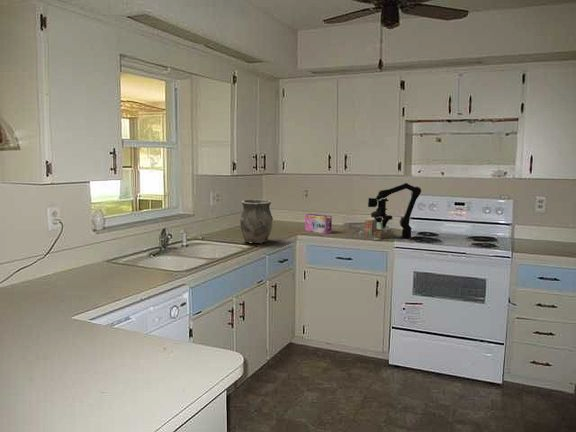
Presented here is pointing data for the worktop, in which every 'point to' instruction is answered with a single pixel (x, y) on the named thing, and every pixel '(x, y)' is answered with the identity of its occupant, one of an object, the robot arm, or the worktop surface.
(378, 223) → the sage cube
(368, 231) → the stack of blocks
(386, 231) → the grey cube
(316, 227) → the gum box
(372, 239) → the slate card
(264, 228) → the clay pot
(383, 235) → the walnut base block
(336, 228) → the worktop surface
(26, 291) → the worktop surface
